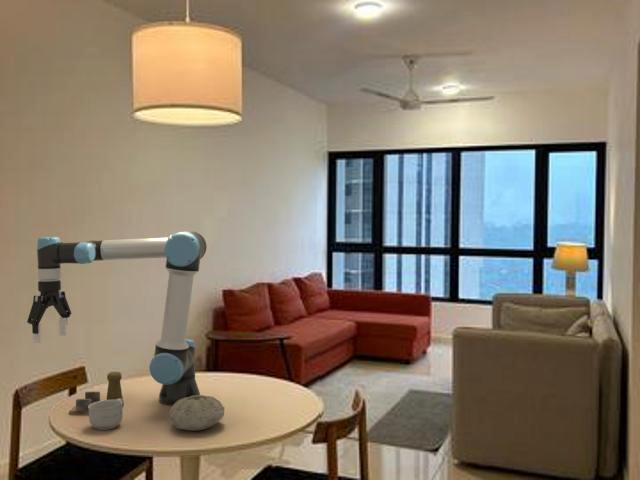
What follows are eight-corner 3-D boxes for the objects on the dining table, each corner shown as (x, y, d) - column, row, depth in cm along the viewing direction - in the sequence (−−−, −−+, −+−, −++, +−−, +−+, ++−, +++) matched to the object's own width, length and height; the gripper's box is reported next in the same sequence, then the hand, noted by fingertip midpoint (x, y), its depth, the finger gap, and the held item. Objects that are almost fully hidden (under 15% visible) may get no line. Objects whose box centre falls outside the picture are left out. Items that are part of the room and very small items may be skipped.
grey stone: (170, 419, 215) (170, 391, 214) (222, 416, 219) (222, 388, 218) (169, 438, 197) (169, 406, 197) (226, 434, 201) (226, 403, 201)
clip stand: (106, 405, 229) (106, 391, 229) (97, 414, 219) (97, 400, 219) (79, 405, 229) (79, 391, 229) (68, 414, 219) (68, 399, 218)
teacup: (103, 435, 199) (102, 410, 199) (81, 428, 205) (81, 404, 204) (137, 423, 211) (137, 399, 211) (115, 417, 217) (115, 394, 216)
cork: (125, 400, 235) (125, 372, 235) (111, 404, 231) (110, 375, 230) (117, 397, 239) (117, 369, 239) (103, 400, 235) (102, 372, 235)
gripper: (63, 276, 237) (64, 332, 237) (15, 283, 213) (16, 345, 213) (80, 276, 235) (81, 332, 235) (33, 284, 211) (35, 346, 211)
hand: (50, 339), depth 224 cm, fingers open, 13 cm apart
